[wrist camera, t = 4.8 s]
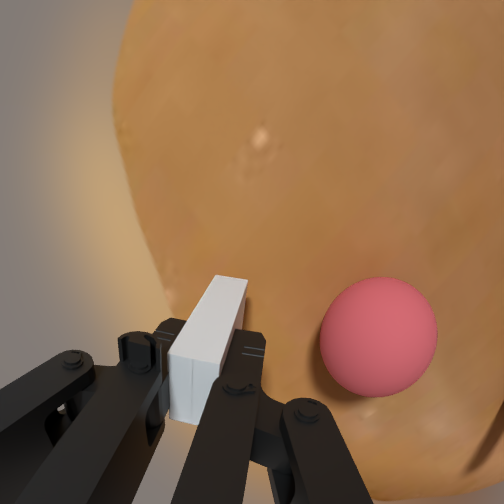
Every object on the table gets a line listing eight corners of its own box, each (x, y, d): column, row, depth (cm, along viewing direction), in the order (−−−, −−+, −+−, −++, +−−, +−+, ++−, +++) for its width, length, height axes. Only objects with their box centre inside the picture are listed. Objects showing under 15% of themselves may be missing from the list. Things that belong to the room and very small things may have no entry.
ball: (325, 254, 15) (345, 301, 10) (424, 268, 15) (475, 313, 10) (306, 350, 17) (312, 420, 12) (396, 357, 17) (427, 420, 11)
